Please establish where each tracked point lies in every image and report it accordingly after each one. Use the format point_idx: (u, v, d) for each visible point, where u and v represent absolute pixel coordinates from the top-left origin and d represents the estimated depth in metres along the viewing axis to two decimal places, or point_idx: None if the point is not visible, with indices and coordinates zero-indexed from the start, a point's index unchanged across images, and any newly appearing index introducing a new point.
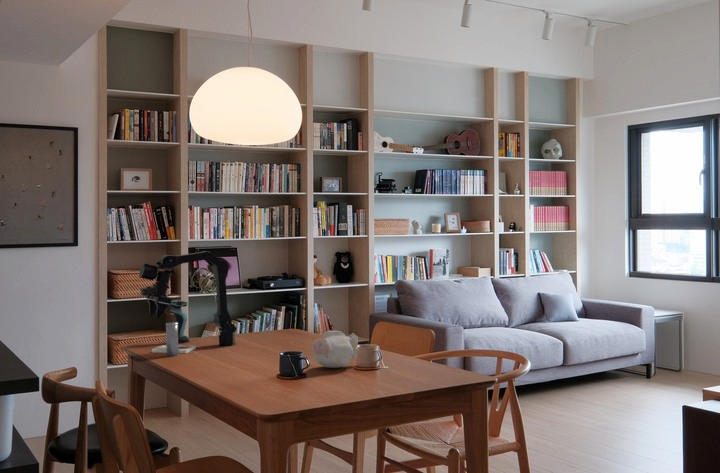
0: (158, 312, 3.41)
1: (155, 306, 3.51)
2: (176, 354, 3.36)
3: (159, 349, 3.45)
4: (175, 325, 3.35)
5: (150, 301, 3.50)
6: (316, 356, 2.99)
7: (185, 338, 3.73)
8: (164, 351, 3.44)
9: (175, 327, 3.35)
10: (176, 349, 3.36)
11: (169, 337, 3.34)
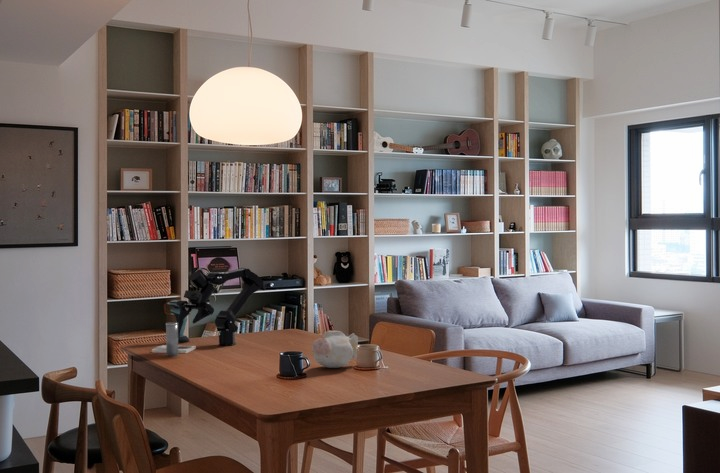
0: (196, 317, 3.42)
1: (185, 314, 3.50)
2: (176, 354, 3.36)
3: (159, 349, 3.45)
4: (175, 325, 3.35)
5: (183, 308, 3.50)
6: (316, 356, 2.99)
7: (185, 338, 3.73)
8: (164, 351, 3.44)
9: (175, 327, 3.35)
10: (176, 349, 3.36)
11: (169, 337, 3.34)
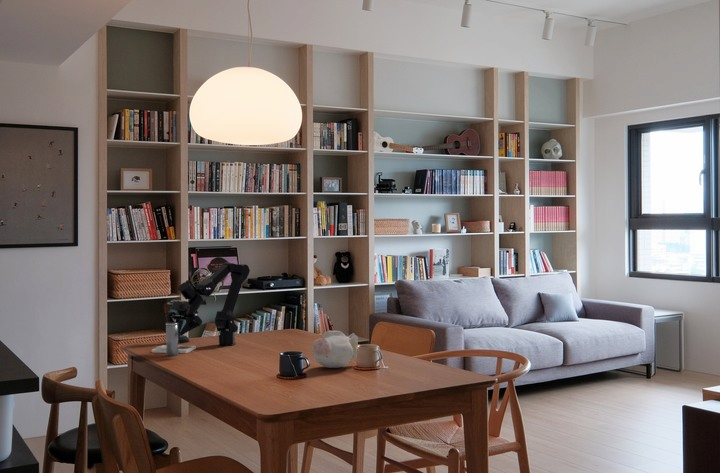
0: (184, 329, 3.36)
1: None
2: (176, 354, 3.36)
3: (159, 349, 3.45)
4: (175, 325, 3.35)
5: (171, 319, 3.43)
6: (316, 356, 2.99)
7: (185, 338, 3.73)
8: (164, 351, 3.44)
9: (175, 327, 3.35)
10: (176, 349, 3.36)
11: (169, 337, 3.34)
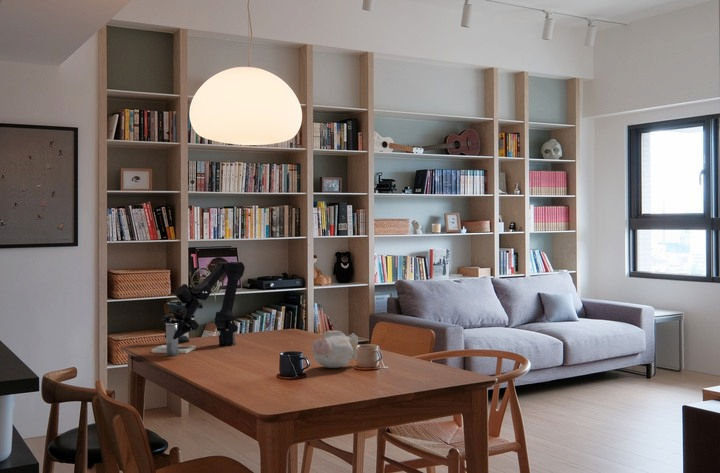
0: (177, 333, 3.35)
1: None
2: (176, 354, 3.36)
3: (159, 349, 3.45)
4: (175, 325, 3.35)
5: None
6: (316, 356, 2.99)
7: (185, 338, 3.73)
8: (164, 351, 3.44)
9: (175, 327, 3.35)
10: (176, 349, 3.36)
11: (169, 337, 3.34)
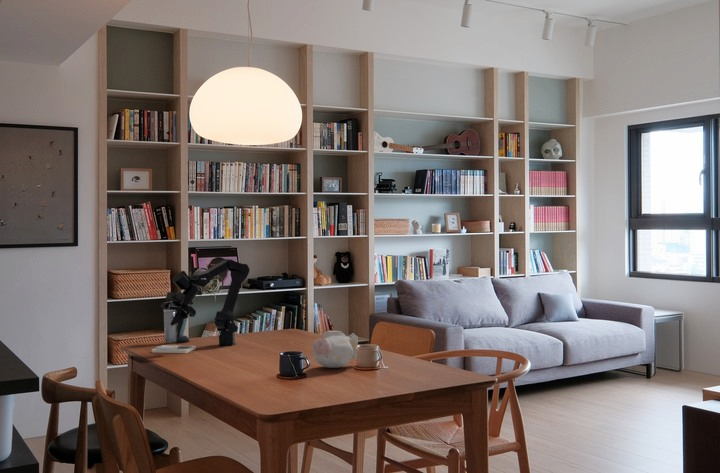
0: (175, 319, 3.37)
1: None
2: (174, 340, 3.38)
3: (159, 349, 3.45)
4: (172, 311, 3.37)
5: None
6: (316, 356, 2.99)
7: (185, 338, 3.73)
8: (164, 351, 3.44)
9: (172, 313, 3.37)
10: (174, 335, 3.38)
11: (166, 323, 3.37)
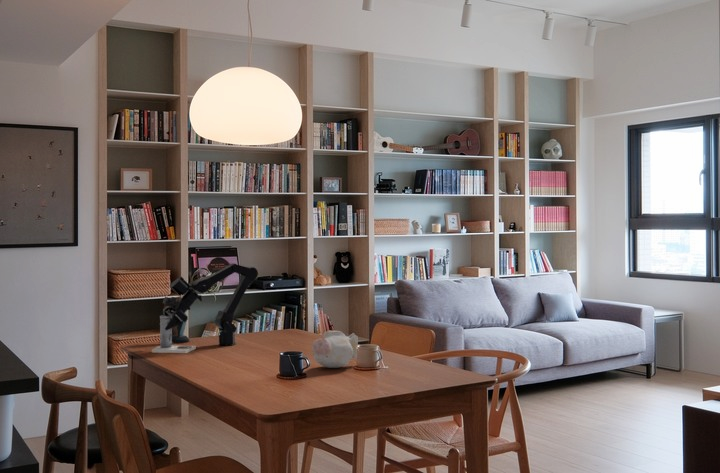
0: (169, 324, 3.44)
1: None
2: (168, 346, 3.47)
3: (159, 349, 3.45)
4: (167, 318, 3.47)
5: (166, 314, 3.54)
6: (316, 356, 2.99)
7: (185, 338, 3.73)
8: (164, 351, 3.44)
9: (167, 320, 3.47)
10: (168, 341, 3.47)
11: (161, 329, 3.47)
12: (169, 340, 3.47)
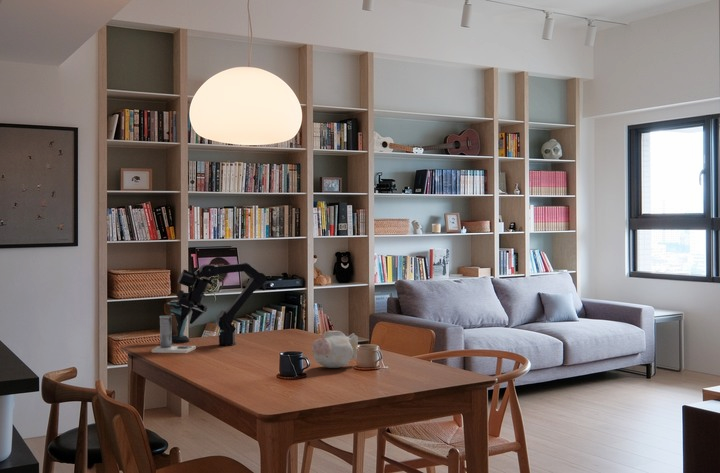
0: (182, 315, 3.52)
1: (196, 315, 3.62)
2: (168, 346, 3.47)
3: (159, 349, 3.45)
4: (166, 318, 3.47)
5: (193, 309, 3.63)
6: (316, 356, 2.99)
7: (185, 338, 3.73)
8: (164, 351, 3.44)
9: (166, 320, 3.47)
10: (168, 341, 3.47)
11: (161, 329, 3.47)
12: (169, 340, 3.47)
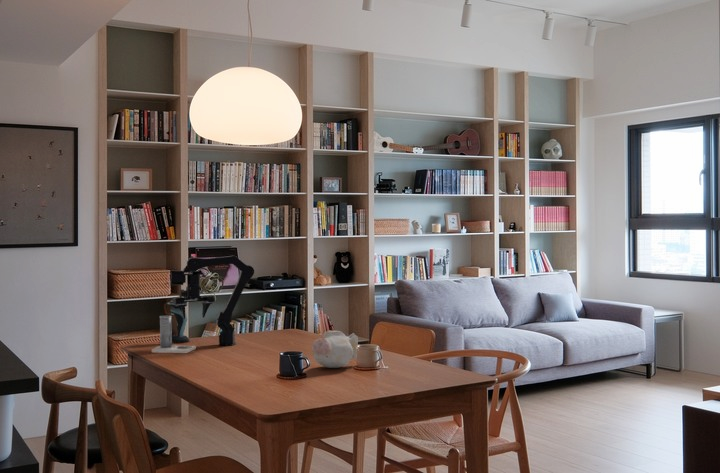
0: (182, 313, 3.58)
1: (204, 308, 3.62)
2: (168, 346, 3.47)
3: (159, 349, 3.45)
4: (166, 318, 3.47)
5: (203, 303, 3.64)
6: (316, 356, 2.99)
7: (185, 338, 3.73)
8: (164, 351, 3.44)
9: (166, 320, 3.47)
10: (168, 341, 3.47)
11: (161, 329, 3.47)
12: (169, 340, 3.47)
